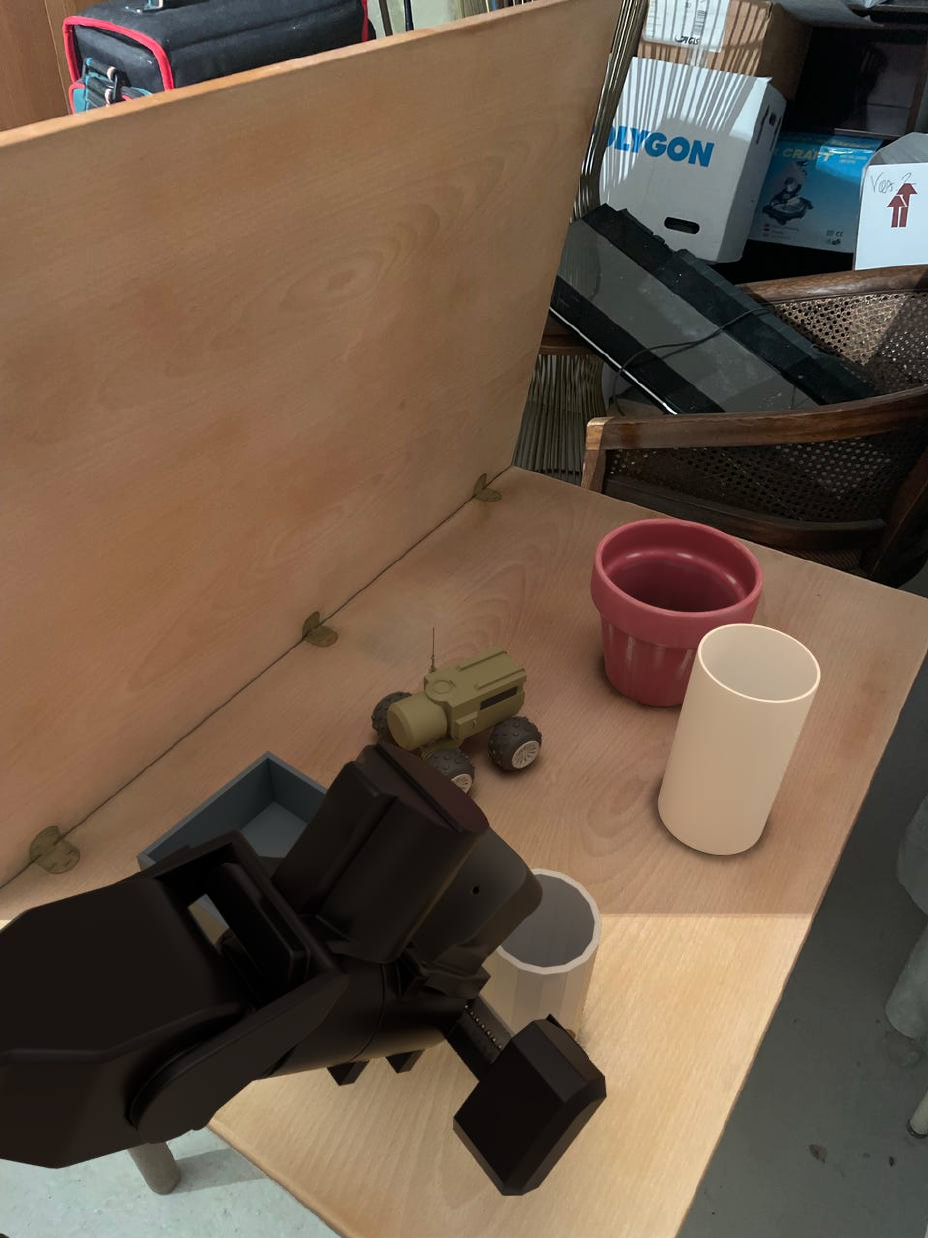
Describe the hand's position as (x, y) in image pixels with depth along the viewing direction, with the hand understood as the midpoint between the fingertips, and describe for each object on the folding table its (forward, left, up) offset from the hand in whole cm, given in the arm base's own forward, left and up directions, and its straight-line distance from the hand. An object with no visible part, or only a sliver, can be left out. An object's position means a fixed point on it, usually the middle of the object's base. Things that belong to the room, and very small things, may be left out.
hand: (510, 976), depth 50 cm
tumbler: (+2, 0, -9) cm, 9 cm away
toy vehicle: (+19, +18, -9) cm, 27 cm away
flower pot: (+38, +9, -9) cm, 40 cm away
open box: (0, +20, -9) cm, 22 cm away
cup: (+26, -2, -9) cm, 28 cm away
